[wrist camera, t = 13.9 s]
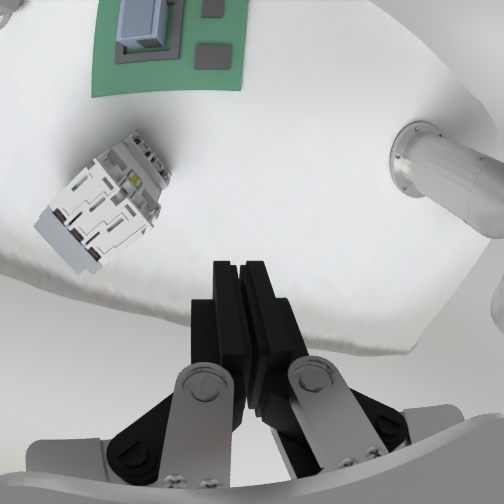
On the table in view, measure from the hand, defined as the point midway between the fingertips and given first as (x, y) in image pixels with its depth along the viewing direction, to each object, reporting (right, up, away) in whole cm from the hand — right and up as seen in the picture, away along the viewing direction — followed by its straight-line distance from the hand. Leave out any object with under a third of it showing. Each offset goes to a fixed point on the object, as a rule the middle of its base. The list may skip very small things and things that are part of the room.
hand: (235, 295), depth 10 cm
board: (-9, +27, +16) cm, 32 cm away
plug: (-11, +27, +14) cm, 32 cm away
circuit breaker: (-18, +10, +25) cm, 32 cm away
